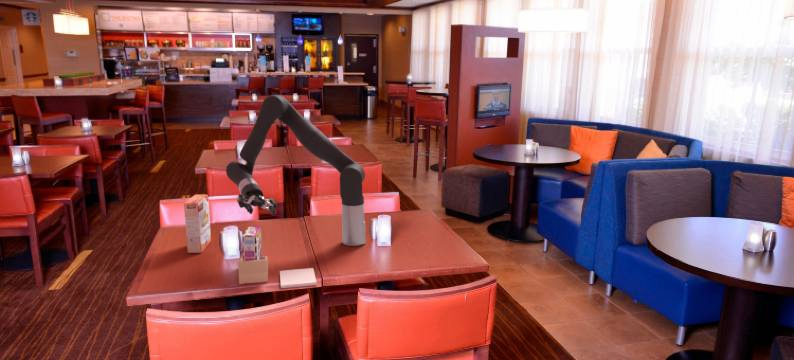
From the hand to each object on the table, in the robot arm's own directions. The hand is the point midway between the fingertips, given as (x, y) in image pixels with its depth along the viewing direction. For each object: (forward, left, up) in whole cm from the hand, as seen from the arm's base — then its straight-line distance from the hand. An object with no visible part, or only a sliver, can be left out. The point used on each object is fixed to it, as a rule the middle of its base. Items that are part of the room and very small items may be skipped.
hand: (262, 212), depth 198 cm
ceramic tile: (-11, +18, -20) cm, 29 cm away
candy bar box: (+4, +10, -20) cm, 23 cm away
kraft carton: (+4, +8, -20) cm, 22 cm away
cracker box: (+26, -23, -20) cm, 40 cm away
